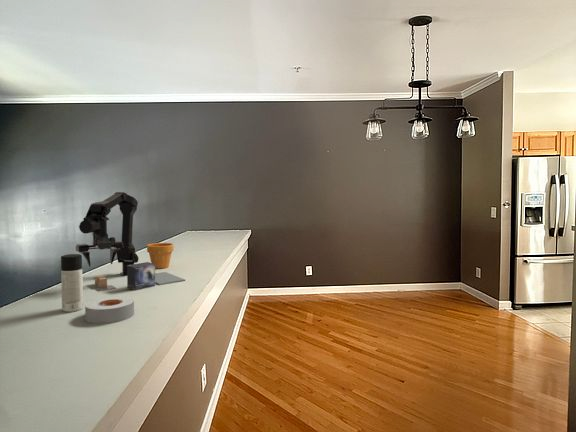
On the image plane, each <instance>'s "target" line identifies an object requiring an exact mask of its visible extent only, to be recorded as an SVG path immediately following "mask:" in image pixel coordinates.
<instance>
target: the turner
mask: <svg viewBox="0 0 576 432" xmlns="http://www.w3.org/2000/svg"><path fill="white" fill-rule="evenodd" d="M94 285H95V286H96V287H94V290H96V291H98V292H104V291H111V290H116V289H117V287H116V286H114V285H112V284H108V278H107V277H105V276H103V275H101V274H99V275H94Z"/></svg>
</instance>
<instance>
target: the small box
mask: <svg viewBox="0 0 576 432" xmlns="http://www.w3.org/2000/svg"><path fill="white" fill-rule="evenodd" d="M155 273H156V268H155V264H153V263H151V262H149V261H145V262H139V263H134V264H132V265H127V275H126V276H127V277H126V279H127V281H126V282H127V284H126V285H127V286H126V288H127V289H130V290H132V291H137V290H142V289H147V288H152V287H156V283H155Z"/></svg>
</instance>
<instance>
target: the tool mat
mask: <svg viewBox="0 0 576 432" xmlns="http://www.w3.org/2000/svg"><path fill="white" fill-rule="evenodd" d="M185 281H186V279H185V278H183V277H180V276H177V275H175V274H172V273H169V272H166V271H163V272H157V273H156V272H155V285H158V286H162V285H163V286H164V285H168V284H175V283H181V282H185Z"/></svg>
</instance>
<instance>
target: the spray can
mask: <svg viewBox="0 0 576 432" xmlns="http://www.w3.org/2000/svg"><path fill="white" fill-rule="evenodd" d="M82 255H83V254H81V253H70V254H68V253H67V254H64V255H61V257H60V273H61V274H60V275H61V277H60V279H61V307H62V308H61V310H62V312H65V313H72V312H78V311H80V310H82V309H83V308H84V296H83V295H84V291H83V289H84V288H83V286H84V285H83V283H84V282H83V259H82V258H83V256H82Z"/></svg>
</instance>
